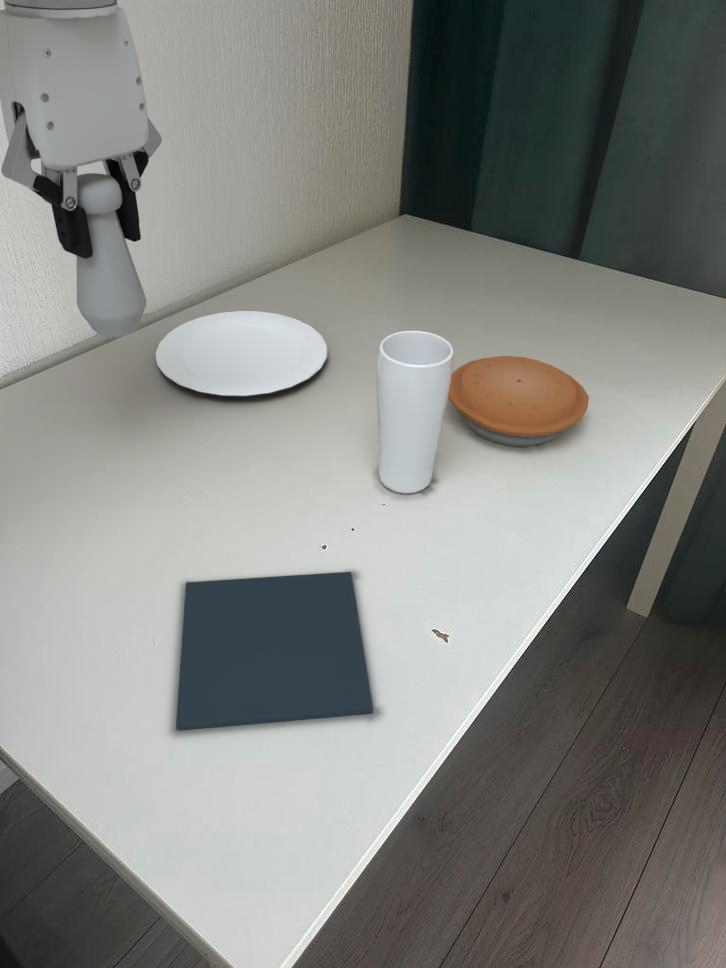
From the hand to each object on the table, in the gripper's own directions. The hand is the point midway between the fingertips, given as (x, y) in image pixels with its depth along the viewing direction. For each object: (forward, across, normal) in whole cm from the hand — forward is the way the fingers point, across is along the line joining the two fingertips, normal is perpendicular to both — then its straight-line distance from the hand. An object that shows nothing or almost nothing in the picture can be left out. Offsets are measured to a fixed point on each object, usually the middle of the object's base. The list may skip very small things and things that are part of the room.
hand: (102, 243), depth 64 cm
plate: (+23, -22, -6) cm, 32 cm away
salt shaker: (+8, 0, 0) cm, 8 cm away
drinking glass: (+23, -15, +23) cm, 35 cm away
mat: (+23, +9, +26) cm, 36 cm away
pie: (+23, -32, +26) cm, 47 cm away
